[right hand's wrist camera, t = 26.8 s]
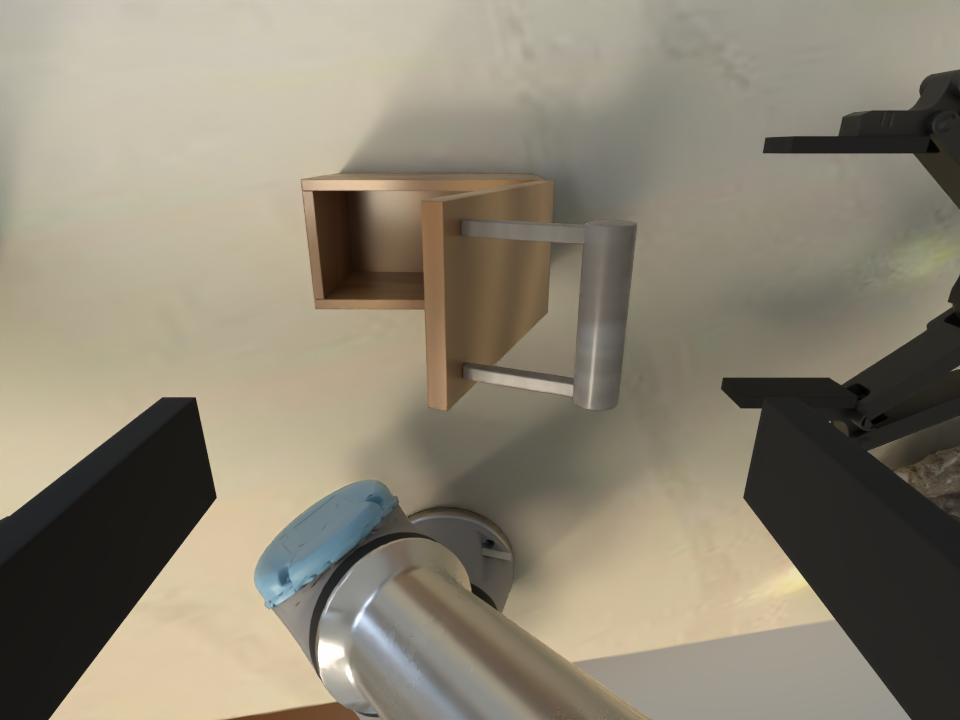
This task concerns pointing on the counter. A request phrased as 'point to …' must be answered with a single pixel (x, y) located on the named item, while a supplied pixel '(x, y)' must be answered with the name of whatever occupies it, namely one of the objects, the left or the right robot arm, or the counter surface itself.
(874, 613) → the right robot arm
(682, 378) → the counter surface
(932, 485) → the fossil
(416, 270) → the chest
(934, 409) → the left robot arm
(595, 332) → the lid
